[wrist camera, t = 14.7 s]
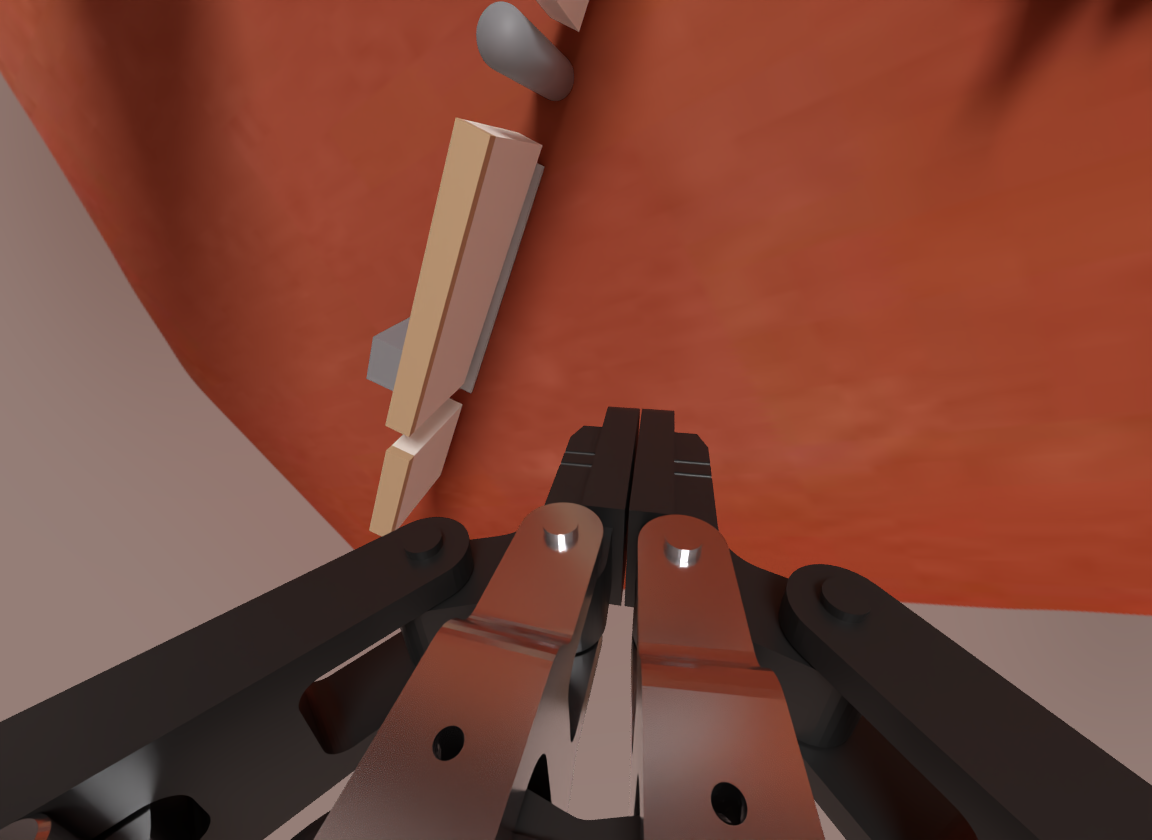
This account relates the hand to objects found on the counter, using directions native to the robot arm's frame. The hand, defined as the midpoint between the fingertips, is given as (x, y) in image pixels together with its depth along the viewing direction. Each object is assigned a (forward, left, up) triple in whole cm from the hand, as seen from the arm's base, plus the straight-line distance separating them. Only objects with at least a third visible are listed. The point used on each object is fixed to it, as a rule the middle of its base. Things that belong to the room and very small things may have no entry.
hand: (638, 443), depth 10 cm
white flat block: (-10, -4, -18) cm, 21 cm away
